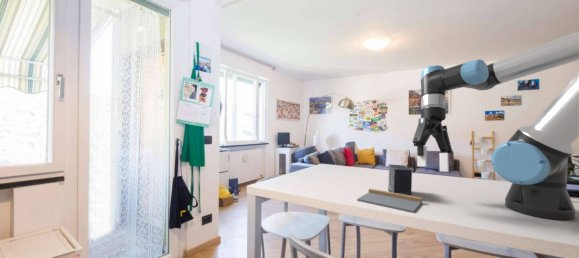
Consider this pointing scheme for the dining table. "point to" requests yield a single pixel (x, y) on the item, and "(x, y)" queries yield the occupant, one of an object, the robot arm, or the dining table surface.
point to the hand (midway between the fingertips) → (433, 169)
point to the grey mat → (392, 200)
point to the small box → (400, 179)
